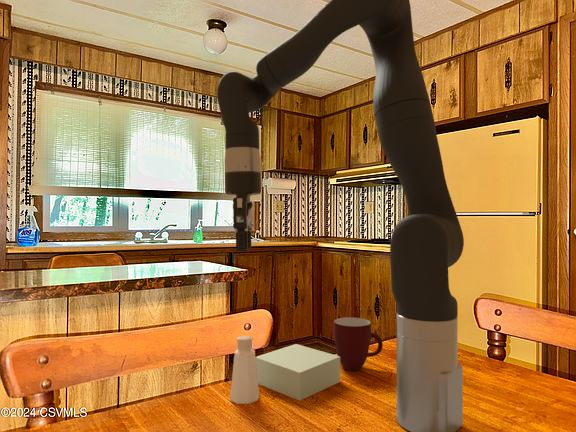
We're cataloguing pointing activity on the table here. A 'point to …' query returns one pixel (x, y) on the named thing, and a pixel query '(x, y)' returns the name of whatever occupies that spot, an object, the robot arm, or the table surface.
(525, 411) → the table surface
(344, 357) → the mug
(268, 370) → the sage box
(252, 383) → the salt shaker
